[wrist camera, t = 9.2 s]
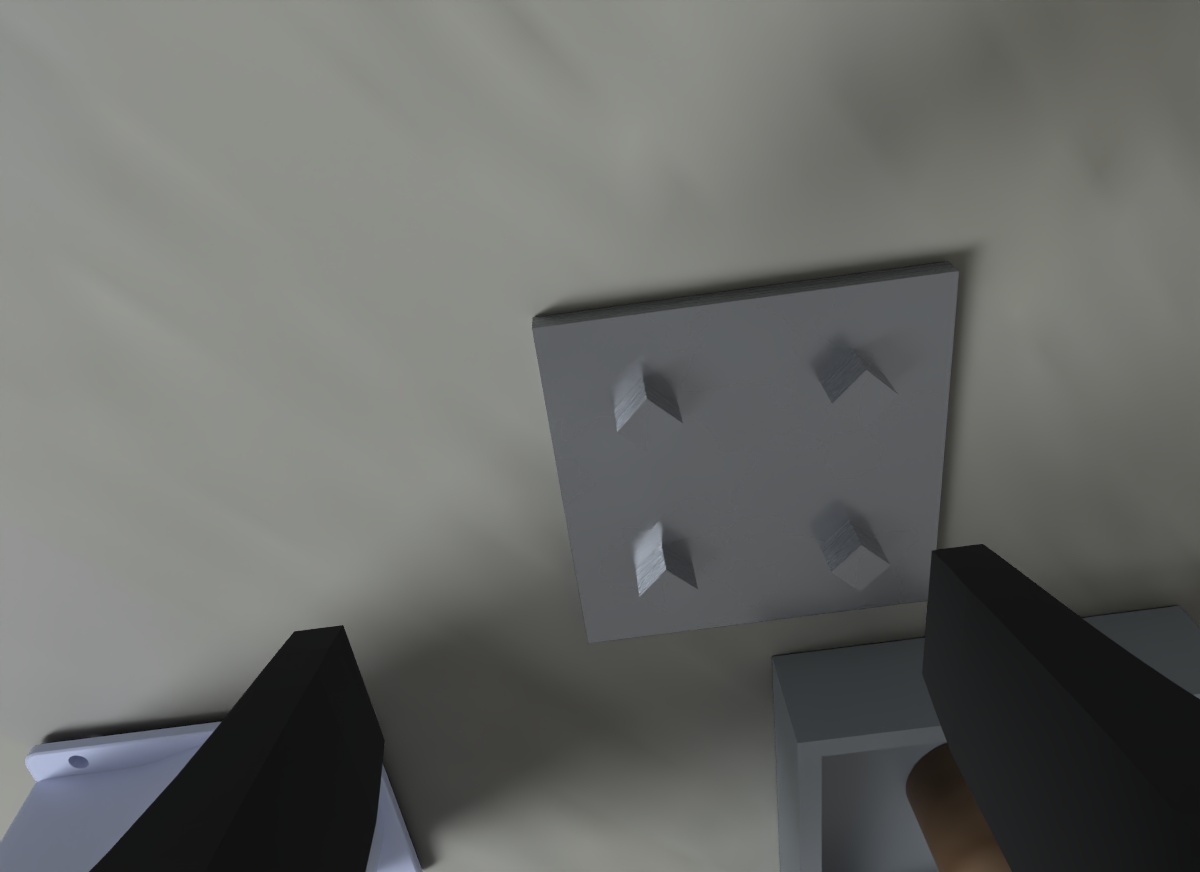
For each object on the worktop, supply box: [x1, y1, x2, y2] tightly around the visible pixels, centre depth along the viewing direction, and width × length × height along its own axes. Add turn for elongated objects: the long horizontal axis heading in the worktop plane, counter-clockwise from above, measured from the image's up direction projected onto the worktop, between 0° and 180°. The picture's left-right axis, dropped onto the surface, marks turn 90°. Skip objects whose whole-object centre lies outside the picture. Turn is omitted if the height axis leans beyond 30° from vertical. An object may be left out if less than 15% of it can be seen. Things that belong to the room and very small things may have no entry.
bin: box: [772, 606, 1200, 872], centre depth 26 cm, size 11×11×3 cm
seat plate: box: [532, 261, 959, 643], centre depth 21 cm, size 9×9×2 cm
